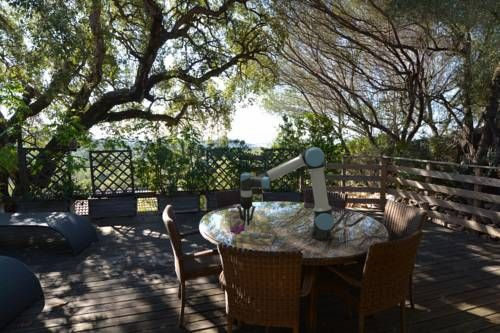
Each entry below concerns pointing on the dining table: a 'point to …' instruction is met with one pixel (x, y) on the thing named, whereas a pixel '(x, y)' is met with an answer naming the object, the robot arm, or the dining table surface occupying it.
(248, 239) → the keypad
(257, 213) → the dining table surface
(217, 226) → the dining table surface
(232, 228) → the candy bar box
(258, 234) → the key slate
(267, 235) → the key charcoal
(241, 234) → the key sage
